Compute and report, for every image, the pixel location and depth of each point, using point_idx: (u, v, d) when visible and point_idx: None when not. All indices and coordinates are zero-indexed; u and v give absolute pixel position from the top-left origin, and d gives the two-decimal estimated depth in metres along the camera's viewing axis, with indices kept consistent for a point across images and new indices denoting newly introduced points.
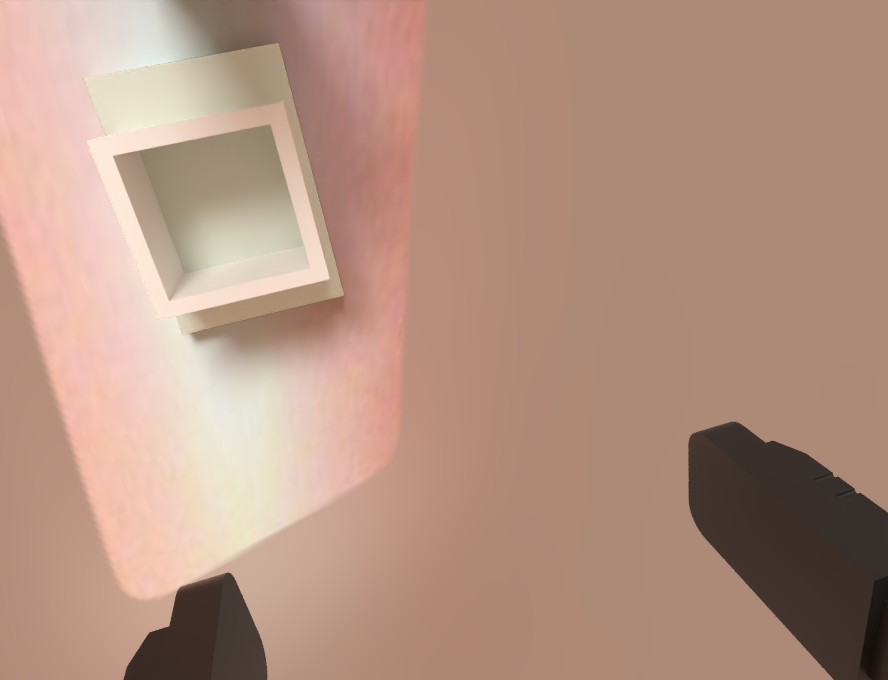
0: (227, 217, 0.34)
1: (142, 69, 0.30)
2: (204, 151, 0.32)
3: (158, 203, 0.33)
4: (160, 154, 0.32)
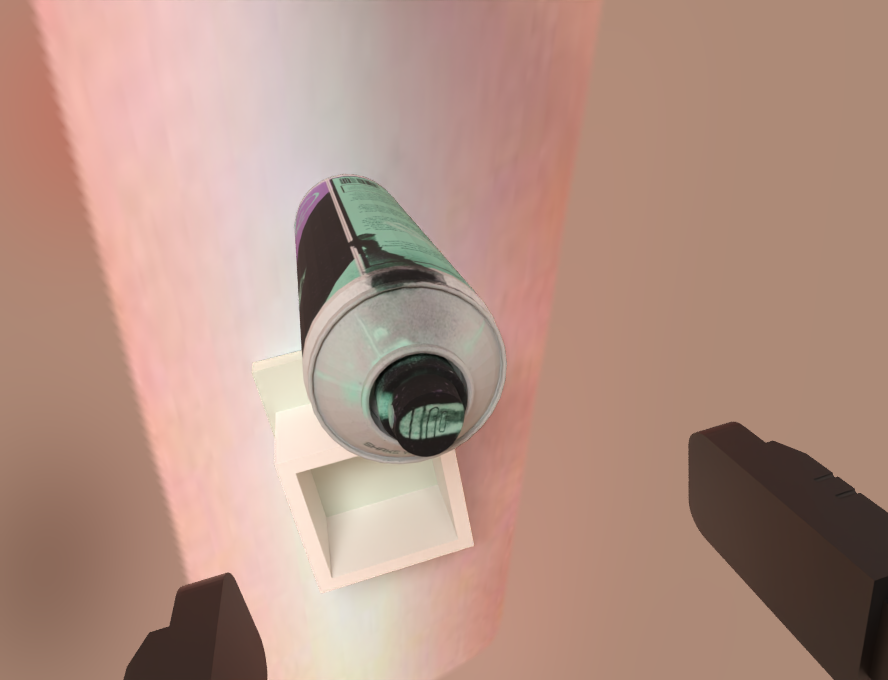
0: (368, 469, 0.36)
1: None
2: None
3: None
4: None
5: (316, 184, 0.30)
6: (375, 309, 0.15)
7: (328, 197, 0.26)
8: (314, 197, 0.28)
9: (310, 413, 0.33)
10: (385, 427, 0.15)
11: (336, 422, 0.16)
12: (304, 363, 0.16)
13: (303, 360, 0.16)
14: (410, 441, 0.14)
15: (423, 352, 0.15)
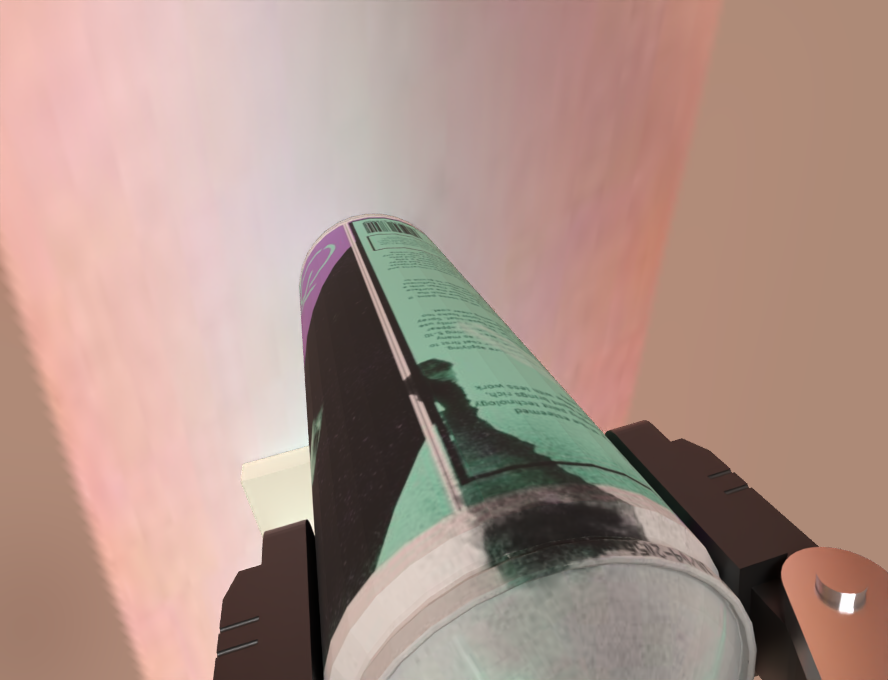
0: None
1: None
2: None
3: None
4: None
5: (329, 228, 0.22)
6: (504, 630, 0.06)
7: (350, 258, 0.17)
8: (328, 252, 0.19)
9: None
10: None
11: None
12: None
13: None
14: None
15: None
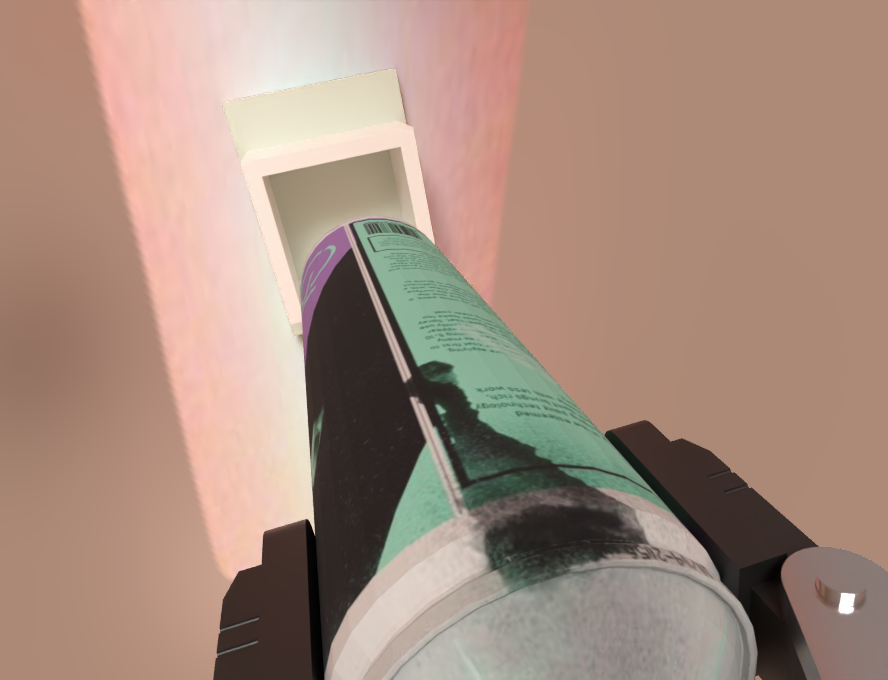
0: None
1: (273, 94, 0.33)
2: (323, 168, 0.35)
3: (280, 216, 0.35)
4: (284, 171, 0.35)
5: (330, 229, 0.22)
6: (505, 633, 0.06)
7: (351, 259, 0.17)
8: (329, 253, 0.19)
9: (279, 146, 0.33)
10: None
11: None
12: None
13: None
14: None
15: None
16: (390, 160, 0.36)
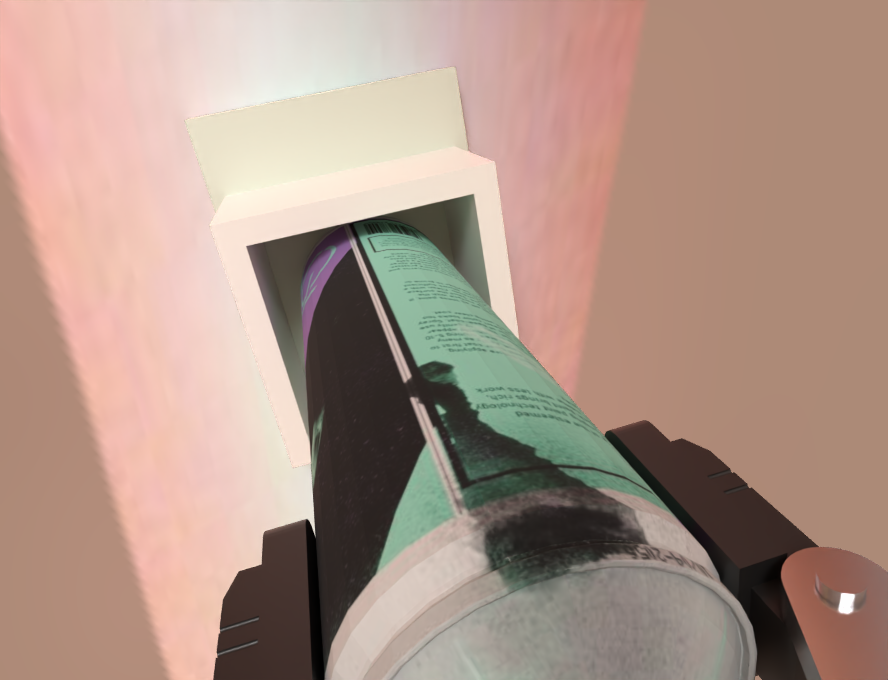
0: None
1: (267, 106, 0.21)
2: None
3: (277, 289, 0.23)
4: None
5: None
6: (505, 633, 0.06)
7: (351, 259, 0.17)
8: (329, 254, 0.19)
9: (276, 189, 0.21)
10: None
11: None
12: None
13: None
14: None
15: None
16: (443, 205, 0.24)
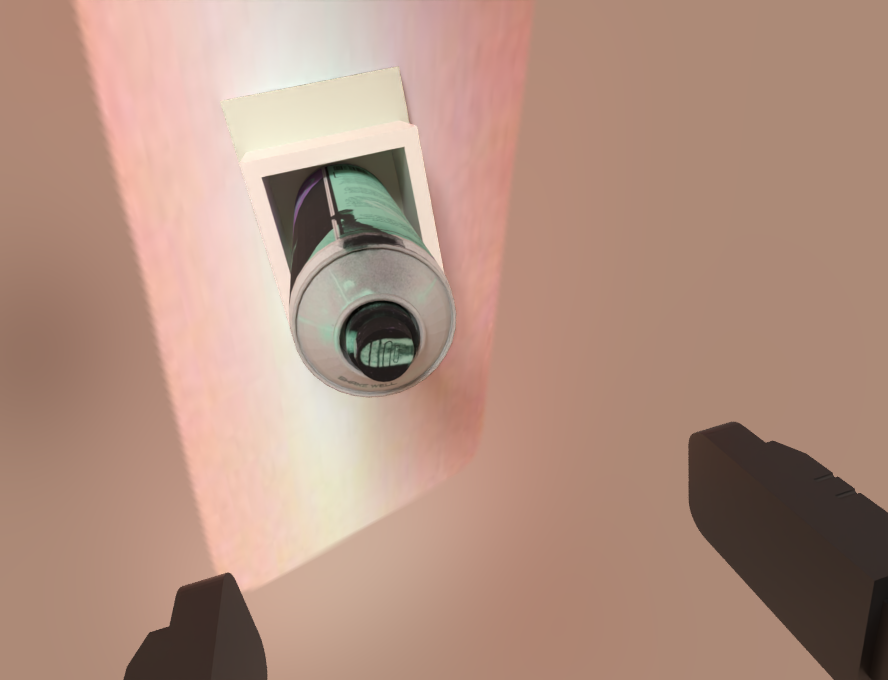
0: None
1: (274, 92, 0.32)
2: None
3: (280, 217, 0.35)
4: (284, 172, 0.34)
5: None
6: (345, 266, 0.18)
7: (321, 181, 0.30)
8: (310, 182, 0.31)
9: (280, 147, 0.32)
10: (352, 359, 0.18)
11: (315, 359, 0.19)
12: (290, 311, 0.20)
13: (289, 309, 0.20)
14: (370, 368, 0.18)
15: (382, 299, 0.18)
16: (393, 160, 0.35)
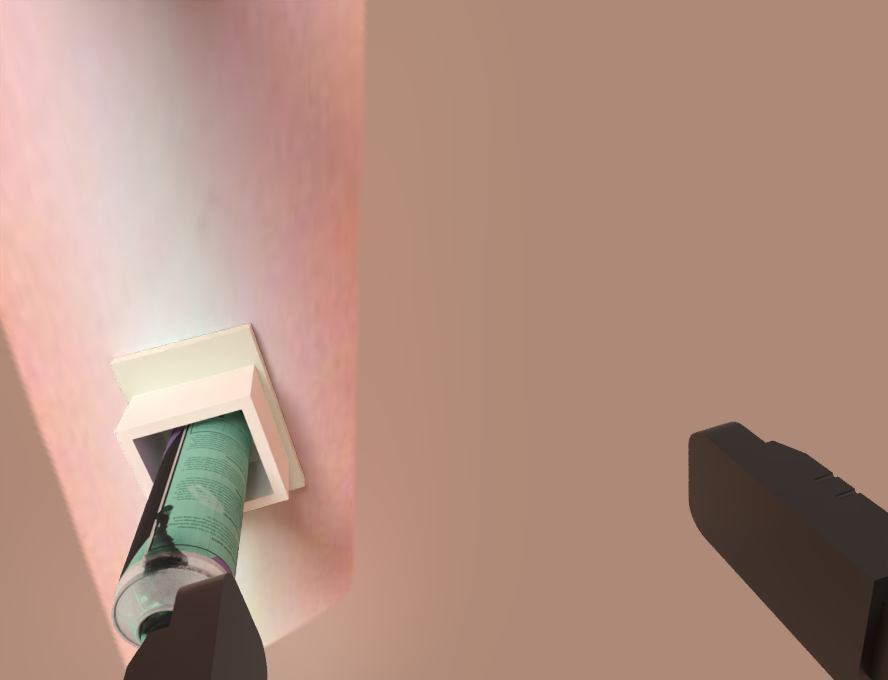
0: None
1: (151, 355, 0.42)
2: None
3: (164, 438, 0.45)
4: None
5: None
6: (142, 585, 0.28)
7: (180, 436, 0.40)
8: (177, 427, 0.42)
9: (156, 396, 0.42)
10: None
11: (130, 638, 0.29)
12: None
13: None
14: None
15: (164, 610, 0.28)
16: None
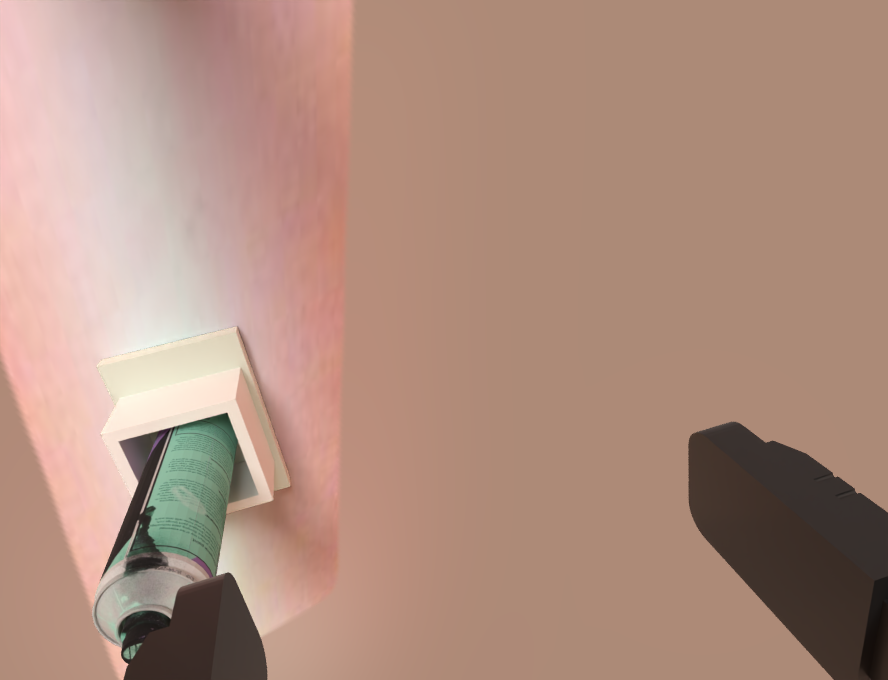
0: None
1: (138, 357, 0.43)
2: None
3: (150, 439, 0.45)
4: None
5: None
6: (122, 585, 0.29)
7: (165, 438, 0.40)
8: None
9: (143, 398, 0.43)
10: None
11: (110, 637, 0.30)
12: None
13: None
14: None
15: (144, 610, 0.29)
16: None
